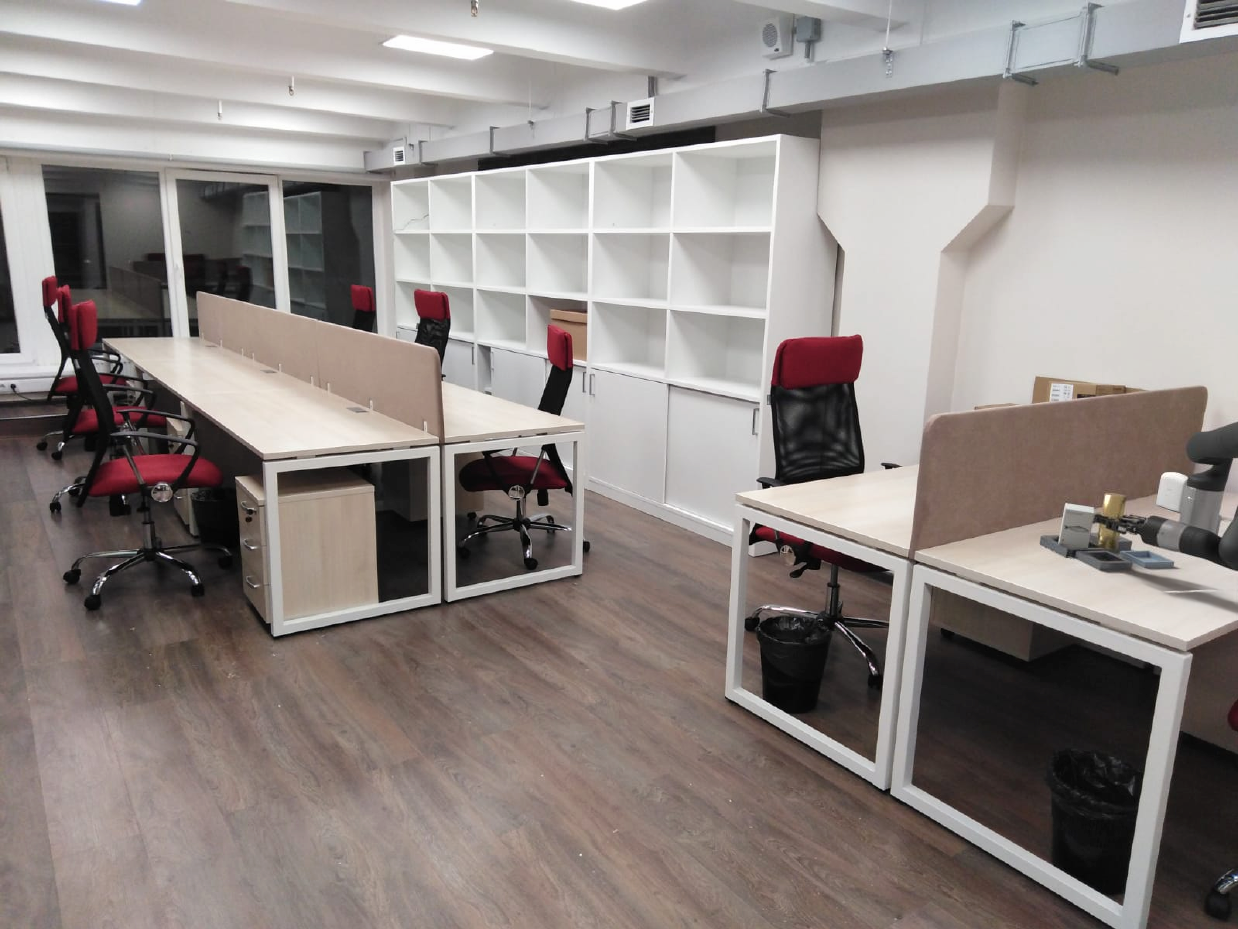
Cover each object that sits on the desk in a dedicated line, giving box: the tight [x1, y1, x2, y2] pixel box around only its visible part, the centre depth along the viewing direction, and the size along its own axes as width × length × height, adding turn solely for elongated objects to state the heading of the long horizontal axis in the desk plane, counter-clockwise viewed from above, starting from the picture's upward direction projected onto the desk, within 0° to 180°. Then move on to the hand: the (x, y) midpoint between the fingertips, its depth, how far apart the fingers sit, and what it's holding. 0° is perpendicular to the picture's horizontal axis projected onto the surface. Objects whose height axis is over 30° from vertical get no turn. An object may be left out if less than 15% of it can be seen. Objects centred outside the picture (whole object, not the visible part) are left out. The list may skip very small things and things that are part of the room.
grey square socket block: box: [1089, 532, 1133, 553], centre depth 245 cm, size 8×8×4 cm
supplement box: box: [1058, 502, 1095, 548], centre depth 240 cm, size 7×7×13 cm
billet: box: [1096, 492, 1127, 550], centre depth 227 cm, size 5×5×14 cm
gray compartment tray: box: [1039, 534, 1134, 572], centre depth 237 cm, size 12×23×2 cm, turn 10°
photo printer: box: [1155, 471, 1189, 513], centre depth 290 cm, size 10×4×12 cm, turn 13°
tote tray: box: [1118, 549, 1175, 569], centre depth 234 cm, size 9×9×2 cm
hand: (1101, 516), depth 229 cm, fingers closed on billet, 5 cm apart
